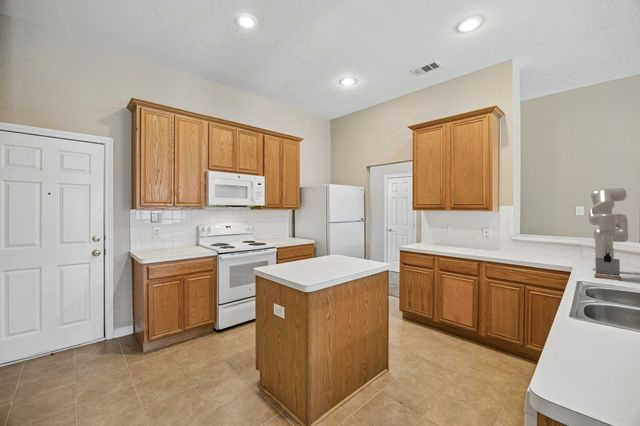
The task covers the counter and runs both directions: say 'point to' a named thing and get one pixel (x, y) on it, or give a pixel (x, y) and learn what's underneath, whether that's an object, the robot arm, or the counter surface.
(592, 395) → the counter surface
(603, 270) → the hinge leaf
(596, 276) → the hinge base
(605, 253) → the robot arm
